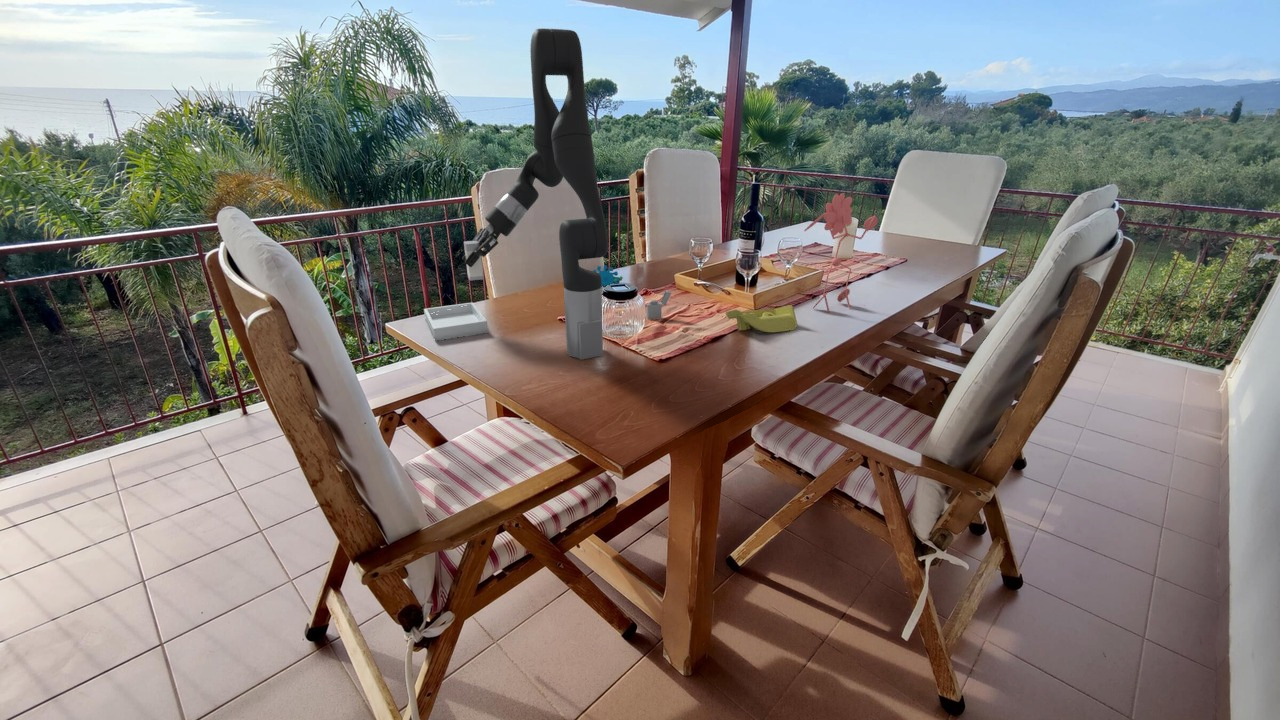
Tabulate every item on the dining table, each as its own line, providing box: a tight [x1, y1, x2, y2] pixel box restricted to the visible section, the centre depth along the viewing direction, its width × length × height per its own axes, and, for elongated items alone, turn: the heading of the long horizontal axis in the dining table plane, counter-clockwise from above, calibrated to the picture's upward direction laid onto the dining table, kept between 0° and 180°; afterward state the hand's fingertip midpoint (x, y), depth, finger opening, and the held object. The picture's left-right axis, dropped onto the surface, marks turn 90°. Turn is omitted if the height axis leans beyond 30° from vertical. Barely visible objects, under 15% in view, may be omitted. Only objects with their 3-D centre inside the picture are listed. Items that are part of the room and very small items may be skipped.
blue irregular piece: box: [592, 264, 624, 288], centre depth 191 cm, size 11×6×10 cm
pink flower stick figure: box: [794, 192, 879, 313], centre depth 170 cm, size 15×26×35 cm, turn 118°
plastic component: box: [725, 304, 798, 333], centre depth 156 cm, size 20×7×10 cm
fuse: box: [463, 240, 485, 281], centre depth 150 cm, size 4×4×10 cm
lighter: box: [646, 289, 672, 320], centre depth 163 cm, size 7×2×8 cm, turn 106°
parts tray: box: [423, 302, 489, 342], centre depth 154 cm, size 18×14×4 cm
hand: (466, 262), depth 149 cm, fingers closed on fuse, 3 cm apart
